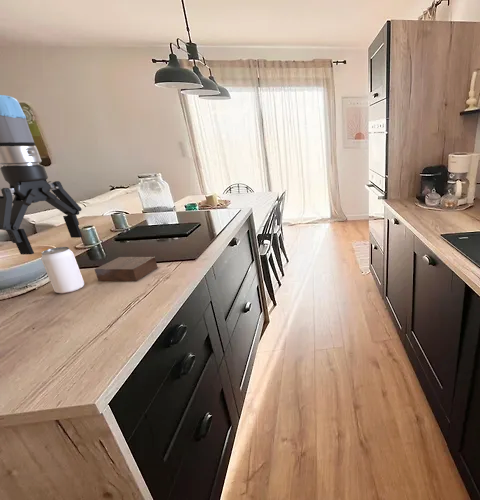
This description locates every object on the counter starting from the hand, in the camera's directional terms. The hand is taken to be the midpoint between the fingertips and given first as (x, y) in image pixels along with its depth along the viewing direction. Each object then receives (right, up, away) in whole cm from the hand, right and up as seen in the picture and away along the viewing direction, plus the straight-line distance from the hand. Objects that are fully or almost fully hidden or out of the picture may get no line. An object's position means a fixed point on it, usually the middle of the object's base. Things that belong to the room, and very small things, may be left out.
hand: (54, 245), depth 79 cm
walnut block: (+10, -9, +14) cm, 19 cm away
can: (0, -13, +5) cm, 14 cm away
